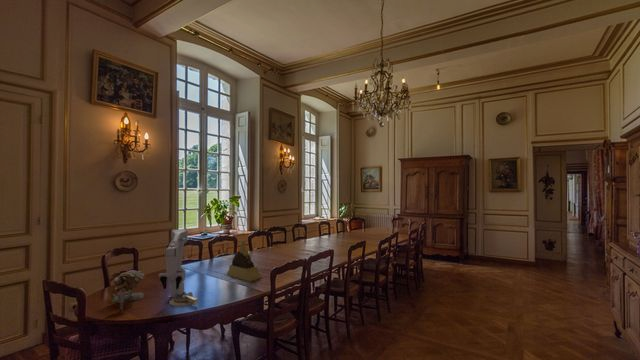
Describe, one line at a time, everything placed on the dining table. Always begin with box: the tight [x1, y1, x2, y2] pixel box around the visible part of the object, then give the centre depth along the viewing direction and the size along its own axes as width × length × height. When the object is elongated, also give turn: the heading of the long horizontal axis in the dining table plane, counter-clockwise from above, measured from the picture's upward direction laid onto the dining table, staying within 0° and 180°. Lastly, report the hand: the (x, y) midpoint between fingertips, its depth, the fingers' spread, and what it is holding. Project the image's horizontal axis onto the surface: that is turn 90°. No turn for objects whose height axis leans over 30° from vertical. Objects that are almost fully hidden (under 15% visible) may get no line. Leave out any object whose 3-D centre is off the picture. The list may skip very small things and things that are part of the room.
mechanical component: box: [111, 290, 133, 311], centre depth 191 cm, size 3×10×10 cm, turn 134°
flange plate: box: [169, 295, 198, 307], centre depth 205 cm, size 16×16×1 cm
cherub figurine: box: [109, 269, 146, 304], centre depth 212 cm, size 18×18×18 cm
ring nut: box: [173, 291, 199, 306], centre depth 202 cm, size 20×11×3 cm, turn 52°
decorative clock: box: [226, 239, 263, 282], centre depth 262 cm, size 28×13×30 cm, turn 52°
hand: (171, 288), depth 201 cm, fingers open, 7 cm apart
